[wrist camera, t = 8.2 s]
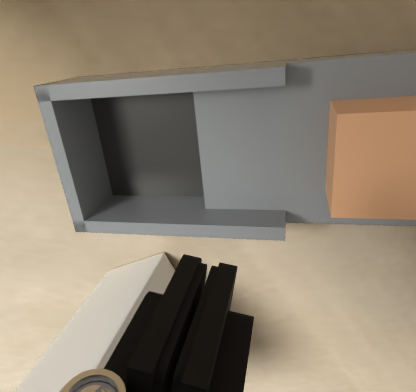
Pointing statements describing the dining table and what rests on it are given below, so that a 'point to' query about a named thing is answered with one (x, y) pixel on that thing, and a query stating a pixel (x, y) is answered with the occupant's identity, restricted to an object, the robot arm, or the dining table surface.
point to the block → (372, 158)
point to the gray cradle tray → (209, 144)
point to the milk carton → (98, 324)
